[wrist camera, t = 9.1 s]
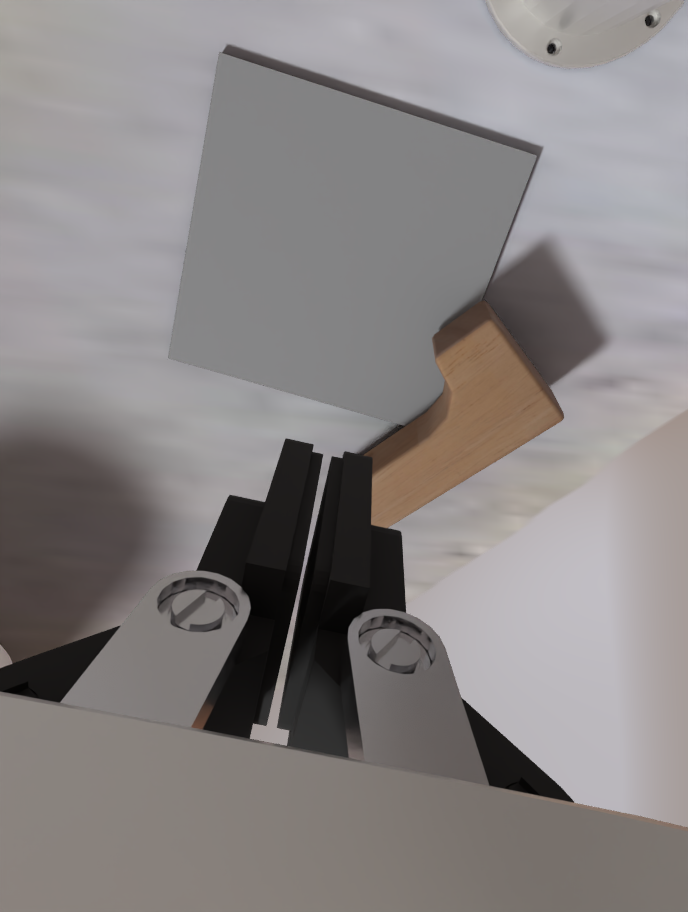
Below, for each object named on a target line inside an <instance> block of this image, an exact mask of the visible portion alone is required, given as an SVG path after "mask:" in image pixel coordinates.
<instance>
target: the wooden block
mask: <svg viewBox="0 0 688 912" xmlns="http://www.w3.org/2000/svg"><path fill="white" fill-rule="evenodd" d="M432 343H433V349H434V356H435V362H436V364H437V366H438V368H439V370H440V372H441V374H442V376H443V378H444V380H445V382H444V388H443V393H442V395H441V396H440V397H439V398H438V399H437V401H436V402H435V403H434V404H433V405H432V406H431V407H430V409H429V410H428V411H427V412H426V413H424V414H423V415H421V416H420V417H418V418H417V419H415V420H414V421H413V422H411V423H410V424H408V425H407V426H405V427H404V428H402V429H401V430H399V431H398V432H396V433H395V434H393V435H392V436H390V437H389V438H388V439H386V440H385V441H383V442H382V443H380V444H379V445H377V446H376V447H374V448H373V449H371V450H370V451H368V452H367V453H365V454H364V456H369V457H372V458H373V466H372V509H371V525H375V526H379V527H384V528H388V527H390V526H391V525H393V524H395V523H396V522H398V521H400V520H401V519H403V518H404V517H406V516H408V515H409V514H411V513H413V512H414V511H416V510H417V509H419V508H421V507H422V506H424V505H426V504H427V503H429V502H431V501H432V500H434V499H435V498H437V497H439V496H440V495H442V494H444V493H445V492H447V491H448V490H450V489H452V488H453V487H455V486H457V485H458V484H460V483H461V482H463V481H465V480H466V479H468V478H470V477H471V476H473V475H474V474H476V473H478V472H479V471H481V470H483V469H484V468H486V467H488V466H489V465H491V464H492V463H494V462H496V461H497V460H499V459H501V458H502V457H504V456H506V455H507V454H509V453H510V452H512V451H514V450H515V449H517V448H518V447H520V446H522V445H523V444H525V443H527V442H528V441H530V440H531V439H533V438H535V437H536V436H538V435H540V434H541V433H543V432H544V431H546V430H548V429H549V428H551V427H553V426H554V425H556V424H557V423H559V422H561V421H562V420H563V419H564V414H563V411H562V410H561V408H560V406H559V404H558V402H557V400H556V398H555V396H554V394H553V392H552V390H551V389H550V388H549V386H548V385H547V384H546V382H545V381H544V379H543V378H542V377H541V375H540V374H539V372H538V371H537V370H536V368H535V367H534V366H533V364H532V363H531V361H530V360H529V359H528V357H527V356H526V355H525V353H524V352H523V350H522V349H521V348H520V346H519V345H518V344H517V342H516V341H515V339H514V338H513V337H512V335H511V334H510V333H509V331H508V330H507V328H506V327H505V326H504V324H503V323H502V322H501V320H500V319H499V317H498V316H497V315H496V313H495V312H494V311H493V309H492V308H491V306H490V305H489V304H488V303H487V302H486V301H481V302H478V303H477V304H476V305H474V306H473V307H472V308H470V309H469V310H467V311H466V312H465V313H463V314H462V315H461V316H459V317H458V318H456V319H455V320H454V321H452V322H451V323H450V324H448V325H447V326H445V327H444V328H443V329H441V330H440V331H439V332H437V333H436V334H434V336H433V337H432Z"/></svg>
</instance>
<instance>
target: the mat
mask: <svg viewBox="0 0 688 912" xmlns="http://www.w3.org/2000/svg"><path fill="white" fill-rule="evenodd" d="M536 158H537V155H534V154H531V153H528V152H525V151H521V150H518V149H515V148H512V147H509V146H506V145H503V144H500V143H497V142H494V141H491V140H488V139H485V138H482V137H478V136H475V135H472V134H469V133H466V132H463V131H460V130H457V129H454V128H451V127H448V126H445V125H442V124H439V123H435V122H432V121H429V120H426V119H423V118H420V117H417V116H414V115H411V114H408V113H405V112H402V111H399V110H396V109H392V108H389V107H386V106H383V105H380V104H377V103H374V102H371V101H368V100H365V99H362V98H359V97H356V96H353V95H350V94H346V93H343V92H340V91H337V90H334V89H331V88H328V87H325V86H322V85H319V84H316V83H313V82H310V81H307V80H303V79H300V78H297V77H294V76H291V75H288V74H285V73H282V72H279V71H276V70H273V69H270V68H267V67H264V66H260V65H257V64H254V63H251V62H248V61H245V60H242V59H239V58H236V57H233V56H230V55H227V54H224V53H221V52H219V56H218V62H217V68H216V74H215V80H214V86H213V92H212V98H211V104H210V110H209V116H208V122H207V128H206V134H205V140H204V146H203V152H202V158H201V164H200V170H199V176H198V182H197V188H196V194H195V200H194V206H193V212H192V218H191V224H190V230H189V236H188V242H187V248H186V254H185V260H184V266H183V271H182V277H181V283H180V289H179V295H178V301H177V307H176V313H175V319H174V325H173V331H172V337H171V343H170V349H169V355H168V358H169V359H172V360H176V361H179V362H183V363H186V364H190V365H193V366H197V367H200V368H204V369H207V370H211V371H214V372H218V373H221V374H225V375H228V376H232V377H235V378H239V379H242V380H246V381H249V382H253V383H256V384H260V385H263V386H267V387H270V388H274V389H277V390H281V391H284V392H288V393H291V394H295V395H298V396H302V397H305V398H309V399H312V400H316V401H319V402H323V403H326V404H330V405H333V406H337V407H340V408H344V409H347V410H351V411H354V412H358V413H361V414H365V415H368V416H372V417H375V418H379V419H382V420H386V421H389V422H393V423H396V424H400V425H403V426H407V425H408V424H410V423H411V422H413V421H414V420H415V419H417V418H418V417H420V416H421V415H423V414H424V413H426V412H427V411H428V410H429V409H430V407H431V406H432V405H433V404H434V403H435V402H436V401H437V399H438V398H439V397H440V396H441V395H442V393H443V388H444V382H445V380H444V378H443V376H442V374H441V372H440V370H439V368H438V366H437V364H436V362H435V356H434V349H433V343H432V337H433V336H434V334H436V333H437V332H439V331H440V330H441V329H443V328H444V327H445V326H447V325H448V324H450V323H451V322H452V321H454V320H455V319H456V318H458V317H459V316H461V315H462V314H463V313H465V312H466V311H467V310H469V309H470V308H472V307H473V306H474V305H476V304H477V303H478V302H481V301H482V299H483V296H484V294H485V291H486V289H487V286H488V283H489V281H490V278H491V275H492V273H493V270H494V268H495V265H496V262H497V260H498V257H499V255H500V252H501V249H502V247H503V244H504V242H505V239H506V236H507V234H508V231H509V228H510V226H511V223H512V221H513V218H514V215H515V213H516V210H517V208H518V205H519V202H520V200H521V197H522V195H523V192H524V189H525V187H526V184H527V182H528V179H529V176H530V174H531V171H532V168H533V166H534V163H535V161H536Z"/></svg>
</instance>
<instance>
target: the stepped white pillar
mask: <svg viewBox="0 0 688 912" xmlns="http://www.w3.org/2000/svg"><path fill="white" fill-rule="evenodd" d="M10 664H13V663H12V661H11V658H10V656H9V655H8V653H7V652H6V651H5V650H4V648H3V647H2V646H1V644H0V668H2V667H4V666H7V665H10Z"/></svg>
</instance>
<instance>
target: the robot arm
mask: <svg viewBox="0 0 688 912" xmlns="http://www.w3.org/2000/svg"><path fill="white" fill-rule="evenodd" d="M485 1H486V4H487V7H488V10H489V13H490V14H491V16H492V18H493V19H494V21H495V23H496V24H497V26H498V28H499V30H500V31H501V32H502V34H503V35H504V36H505V37H506V38H507V39H508V40H509V41H510V42H511V43H512V45H513V46H514V47H515V48H517V49H518V50H520V51H521V52H523V53H524V54H525V55H527V56H528V57H530V58H531V59H534V60H536V61H538V62H541V63H543V64H546V65H548V66H553V67H559V68H566V69H577V68H590V67H594V66H598V65H601V64H605V63H608V62H611V61H613V60H616V59H618V58H620V57H623V56H625V55H627V54H629V53H630V52H632V51H634V50H635V49H637V48H638V47H640V46H642V45H643V44H645V43H646V42H648V41H649V40H650V39H651V38H652V37H654V36H655V35H656V34H657V33H658V32H660V31H661V30H662V29H663V28H664V27H665V26H666V24H667V23H668V22H669V21H670V20H671V18H672V17H673V16H674V15H675V14H676V12H677V11H678V10H679V9H680V8H681V7H682V5H683V3H684V2H685V0H485ZM646 16H649V17H650V18H651V24H650V25H649V26H646V24H645V18H646ZM549 44H552V45H553V46H554V48H555V49H554V52H553V54H549V53H548V51H547V47H548V45H549ZM312 450H313V444H309V443H304V442H300V441H295V440H290V439H285V442H284V445H283V448H282V451H281V455H280V458H279V461H278V464H277V467H276V470H275V473H274V476H273V480H272V483H271V486H270V489H269V492H268V495H267V498H266V501H265V502H261V501H257V500H252V499H247V498H242V497H238V496H233V495H229V497H228V499H227V501H226V503H225V505H224V508H223V510H222V512H221V515H220V517H219V519H218V522H217V524H216V526H215V529H214V531H213V533H212V536H211V538H210V540H209V542H208V545H207V547H206V549H205V552H204V554H203V556H202V559H201V561H200V563H199V566H198V568H197V570H196V571H184V572H179V573H174V574H172V575H169V576H167V577H165V578H163V579H161V580H159V581H158V582H157V583H156V584H155V585H154V586H153V587H151V589H150V590H149V591H148V592H147V594H146V595H145V596H144V597H143V599H142V600H141V601H140V602H139V604H138V605H137V606H136V607H135V609H134V610H133V611H132V612H131V614H130V615H129V616H128V618H127V619H126V620H125V621H124V623H123V624H122V625H121V626H118V627H115V628H112V629H109V630H107V631H104V632H101V633H98V634H95V635H92V636H90V637H87V638H84V639H81V640H78V641H75V642H73V643H70V644H67V645H64V646H61V647H58V648H56V649H53V650H50V651H47V652H44V653H41V654H39V655H36V656H33V657H30V658H27V659H24V660H22V661H19V662H16V663H13V664H10V665H7V666H4V667H2V668H0V912H688V827H683V826H679V825H675V824H671V823H667V822H663V821H658V820H654V819H650V818H646V817H642V816H637V815H632V814H627V813H621V812H617V811H612V810H607V809H602V808H597V807H592V806H587V805H583V804H578V803H574V801H573V800H572V799H571V798H570V797H569V796H568V795H567V794H566V792H565V791H564V790H563V789H562V788H561V787H560V786H559V785H558V784H557V783H556V782H555V781H553V780H552V779H551V778H550V777H549V776H548V775H547V774H546V773H545V772H543V771H542V770H541V769H540V768H539V767H538V766H537V765H536V764H535V763H533V762H532V761H531V760H530V759H529V758H528V757H527V756H526V755H524V754H523V753H522V752H521V751H520V750H519V749H518V748H517V747H516V746H514V745H513V744H512V743H511V742H510V741H509V740H508V739H507V738H506V737H505V736H503V735H502V734H501V733H500V732H499V731H498V730H497V729H496V728H494V727H493V726H492V725H491V724H490V723H489V722H488V721H487V720H486V719H484V718H483V717H482V716H481V715H480V714H479V713H478V712H477V711H476V710H474V709H473V708H472V707H471V706H470V705H469V704H468V703H467V702H466V701H465V700H463V699H462V698H461V695H460V693H459V689H458V686H457V683H456V680H455V677H454V674H453V671H452V667H451V664H450V661H449V658H448V655H447V652H446V649H445V647H444V645H443V643H442V641H441V639H440V637H439V636H438V635H437V634H436V632H435V631H434V630H433V629H432V628H431V627H430V626H428V625H427V624H426V623H424V622H423V621H421V620H420V619H418V618H416V617H414V616H412V615H410V614H407V613H406V603H405V585H404V567H403V549H402V535H401V532H400V531H398V530H393V529H389V528H384V527H379V526H375V525H371V509H372V466H373V458H372V457H369V456H364V455H359V454H355V453H350V452H346V451H345V452H344V454H343V458H338V457H333V456H332V458H331V462H330V466H329V471H328V475H327V479H326V483H325V488H324V492H323V496H322V501H321V505H320V509H319V514H318V518H317V522H316V527H315V531H314V535H313V539H312V544H311V548H310V552H309V557H308V561H307V565H306V570H305V574H304V579H303V584H302V589H301V595H300V600H299V606H298V612H297V617H296V623H295V629H294V634H293V640H292V645H291V651H290V657H289V662H288V668H287V674H286V679H285V685H284V692H283V697H282V703H281V708H280V713H279V719H278V725H277V728H280V729H285V730H290V731H289V737H288V744H287V746H285V745H280V744H274V743H269V742H264V741H259V740H254V739H250V734H251V730H252V725H253V723H254V724H259V725H264V726H266V725H267V721H268V717H269V712H270V708H271V704H272V699H273V695H274V691H275V686H276V682H277V678H278V673H279V669H280V665H281V660H282V656H283V651H284V647H285V643H286V638H287V634H288V630H289V625H290V621H291V617H292V612H293V608H294V604H295V599H296V595H297V590H298V586H299V581H300V577H301V572H302V567H303V561H304V556H305V551H306V545H307V540H308V534H309V529H310V523H311V518H312V512H313V507H314V502H315V496H316V491H317V485H318V480H319V474H320V469H321V463H322V458H323V454H319V453H315V452H312Z"/></svg>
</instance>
